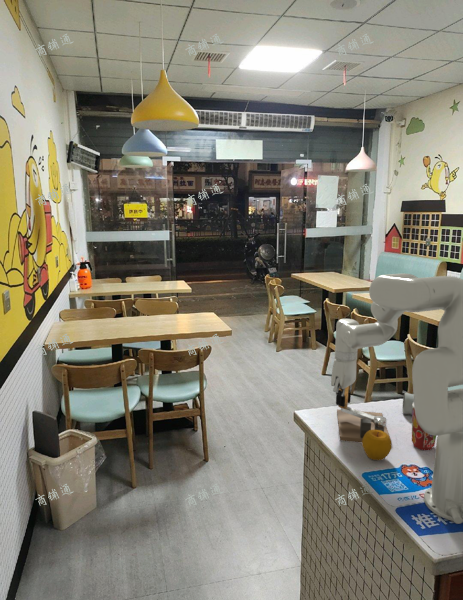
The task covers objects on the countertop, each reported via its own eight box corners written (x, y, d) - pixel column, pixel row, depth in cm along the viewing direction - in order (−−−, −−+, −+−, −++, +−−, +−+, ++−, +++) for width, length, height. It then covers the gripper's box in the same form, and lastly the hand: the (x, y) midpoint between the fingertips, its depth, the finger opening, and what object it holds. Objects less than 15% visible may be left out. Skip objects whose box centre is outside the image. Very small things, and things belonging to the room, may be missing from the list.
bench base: (391, 445, 139) (392, 425, 137) (340, 440, 141) (341, 421, 140) (381, 416, 158) (382, 399, 156) (336, 413, 161) (337, 395, 159)
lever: (388, 424, 144) (390, 397, 142) (382, 428, 141) (384, 400, 139) (341, 407, 156) (342, 382, 154) (335, 411, 153) (337, 385, 151)
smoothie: (440, 454, 133) (446, 394, 129) (411, 451, 135) (417, 392, 131) (433, 440, 141) (439, 383, 137) (406, 438, 143) (411, 381, 139)
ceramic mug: (427, 420, 155) (429, 400, 154) (403, 416, 158) (404, 397, 156) (423, 408, 165) (425, 389, 164) (401, 405, 168) (402, 386, 166)
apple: (372, 468, 126) (374, 441, 124) (355, 453, 134) (356, 427, 132) (396, 463, 129) (398, 436, 127) (377, 448, 137) (379, 423, 135)
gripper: (347, 346, 157) (344, 393, 161) (324, 358, 145) (321, 408, 149) (366, 351, 152) (363, 399, 156) (344, 363, 140) (341, 415, 144)
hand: (343, 403), depth 153 cm, fingers closed on lever, 3 cm apart
